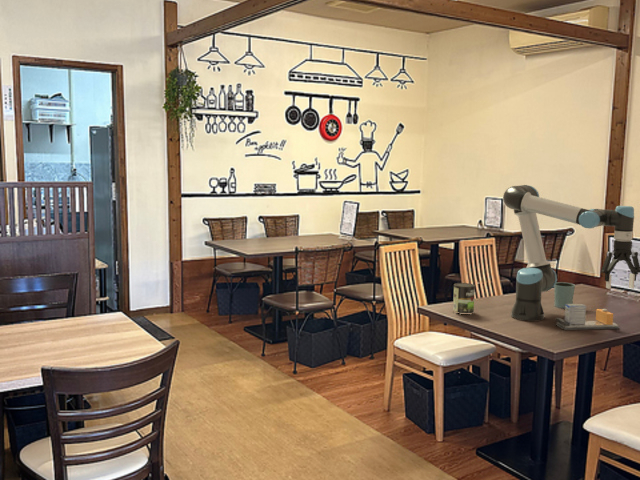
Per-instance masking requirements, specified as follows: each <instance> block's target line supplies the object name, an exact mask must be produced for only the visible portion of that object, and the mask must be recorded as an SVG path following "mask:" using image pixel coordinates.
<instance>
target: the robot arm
mask: <svg viewBox="0 0 640 480" xmlns="http://www.w3.org/2000/svg"><path fill="white" fill-rule="evenodd" d="M502 201H503V204H505V206H506V207H507V208H509V209H511V210H513V212H514V215H515V216H517V217H518V222H519V225H520V231H521V234H522V240H523V245H524V250H525V254H526V259H527V263H528V264H527V266H526V267H523V268H521V269H519V270H518V271H517V274H516V282H515V283H516V285H515V302H514V303H513V307H512V309H511V313H510V315H511V318H513V317H514V319H515V318H517V319H516V320H519V319H521V320H520V321H525V320H528V321H529V322H538V321H539V320H540V321H542V320H544V319H545V312H544V309H543V305H542V293H544V292H548V291H550V290H551V289H553V288H554V286H555V284H556V283H557V281H558V278H557V277H558V275H557V273H556V271H555V270H554V269H553V268H552V265H551V263H550V262H549V261H548V260H547V258H546V253H545V249H544V244H543V238H542V234H541V231H540V229H541V228H540V226H539V221H538V216H537V214H538V215H543V216H546V217H550V218H554V219H556V220H557V219H558V220H560V221H564V222H568V223H573V224H576V225H579V226H581V227H582V228H585V229H594V228H597V227H598V228H599V227H602V226H603V227H614V232H613V233H614V235H613V239H614V240H613V251H606V253H605V255H606V256H605V259H604V262H603V265H602V268H601V270H600V272H601V273H602V274H604V281H605V288H606V289H608V290H611V289H612V274H611V273H612V271H613V270H614V268H615V267H616V265H617V264H618V263H619V262H621V261H622V262H623V261H624V262H626V265H627V266H628V269H629V271H630V272H631V273H629V279H628V280H629V281H628V288H629V289H633V290H634V288H635V282H636V281H637V275H638V274H640V261H639V257H638V256H639V253H638V252H639V251H638V252H637V251H634V250H633V251H632V248H633V234H634V222H635V209H634V207H633V206H631V205H617V206H616V207H615V209H604V208H603V209H601V208H590V209H587V208H582V207H579V206H575V205H571V204H568V203H564V202H559V201H555V200H552V199H547V198H543V197H540V193H539V191H538V190H537V189H536V188H535V187H534V186H532V185H528V184H523V185H522V184H521V185H512V186H510V187H508V188H506V189H505V191H504V193H503V197H502ZM528 321H527V322H528Z"/></svg>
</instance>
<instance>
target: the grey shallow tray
mask: <svg viewBox="0 0 640 480" xmlns="http://www.w3.org/2000/svg"><path fill="white" fill-rule="evenodd" d="M555 322H556V323H555V326H556V325H557V326H556V327H558V328H560V329H562V330H563V329H564V331H575V330H577V331H579V330H587V331H588V330H619V329H620V326H619V325H618V324H617V323H616V322H613V325H606V324H604V323H602V322H599V321H597V320H585V324H570V323H569V322H567V321H565V319H562V318H561V317H556V318H555Z"/></svg>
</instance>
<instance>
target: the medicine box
mask: <svg viewBox="0 0 640 480" xmlns="http://www.w3.org/2000/svg"><path fill="white" fill-rule="evenodd" d="M586 315H587V306H586V305H585V304H582V303H573V304H565V309H564V320H565V321H567V322H569V323H570V324H585V321H586Z"/></svg>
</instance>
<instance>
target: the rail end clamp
mask: <svg viewBox="0 0 640 480" xmlns="http://www.w3.org/2000/svg"><path fill="white" fill-rule="evenodd" d="M595 321H599V322H602V323H604V324H606V325H613V323H614V313H612V312H610V311H608V309H607V308H597V309H596V310H595Z"/></svg>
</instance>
